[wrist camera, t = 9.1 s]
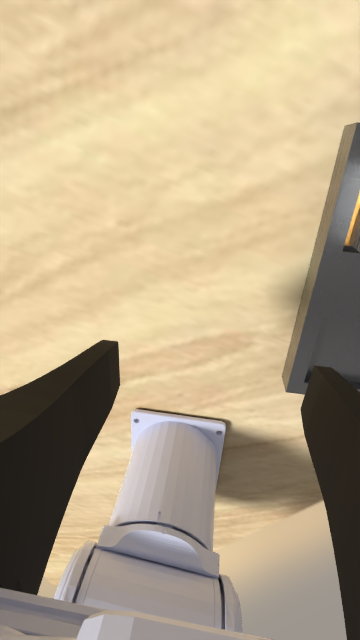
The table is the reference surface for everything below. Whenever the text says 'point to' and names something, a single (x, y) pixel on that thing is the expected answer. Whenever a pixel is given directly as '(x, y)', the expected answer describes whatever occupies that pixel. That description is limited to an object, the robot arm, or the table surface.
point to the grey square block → (356, 234)
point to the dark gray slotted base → (331, 282)
